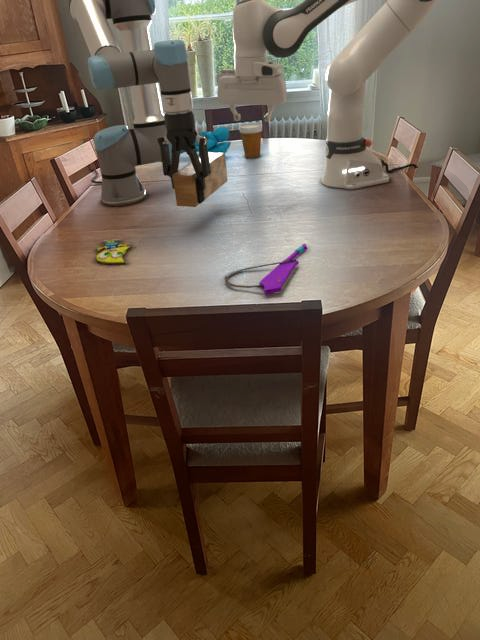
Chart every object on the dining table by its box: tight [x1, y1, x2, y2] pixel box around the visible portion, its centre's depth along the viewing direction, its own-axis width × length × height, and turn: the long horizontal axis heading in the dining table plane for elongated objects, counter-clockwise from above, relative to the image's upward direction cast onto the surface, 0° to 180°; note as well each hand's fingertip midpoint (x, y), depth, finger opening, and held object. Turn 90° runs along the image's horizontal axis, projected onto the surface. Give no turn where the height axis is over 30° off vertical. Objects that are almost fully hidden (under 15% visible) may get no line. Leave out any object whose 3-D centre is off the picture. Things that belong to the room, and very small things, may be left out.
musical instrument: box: [224, 243, 308, 296], centre depth 113 cm, size 24×2×20 cm
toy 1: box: [95, 238, 133, 265], centre depth 129 cm, size 10×1×15 cm
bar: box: [172, 152, 228, 208], centre depth 137 cm, size 23×6×9 cm, turn 159°
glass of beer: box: [239, 123, 263, 159], centre depth 199 cm, size 10×10×12 cm
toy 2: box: [180, 126, 232, 157], centre depth 202 cm, size 17×11×30 cm
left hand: (190, 201), depth 133 cm, fingers closed on bar, 6 cm apart
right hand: (252, 120), depth 141 cm, fingers open, 8 cm apart
